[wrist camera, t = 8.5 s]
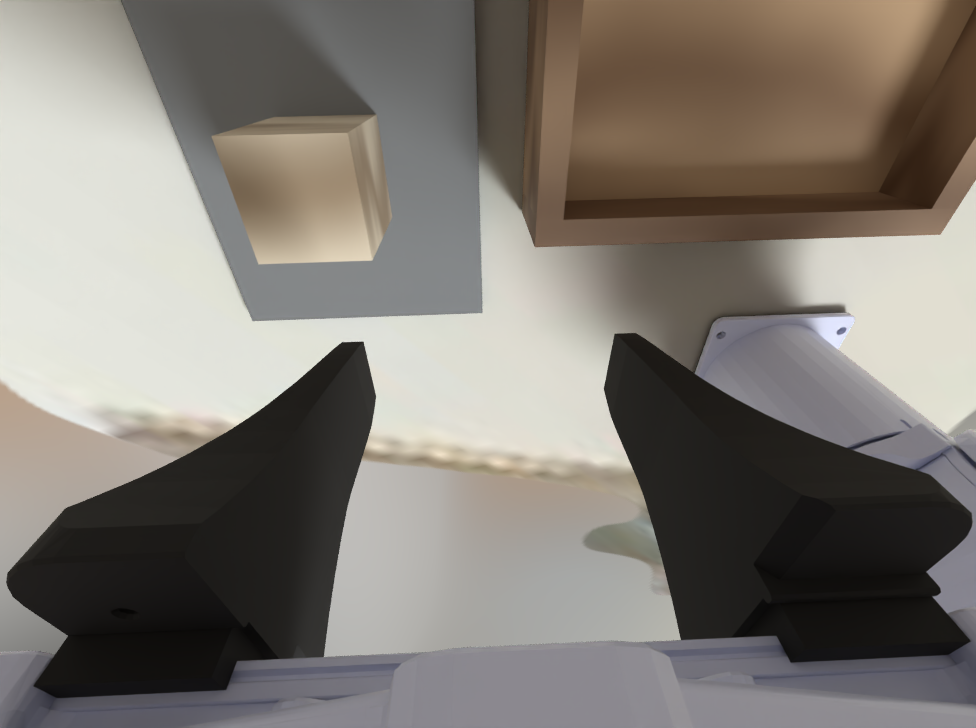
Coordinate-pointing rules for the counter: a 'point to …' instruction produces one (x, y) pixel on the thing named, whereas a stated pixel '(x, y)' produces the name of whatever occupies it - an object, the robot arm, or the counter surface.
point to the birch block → (309, 187)
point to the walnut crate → (746, 119)
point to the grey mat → (324, 92)
